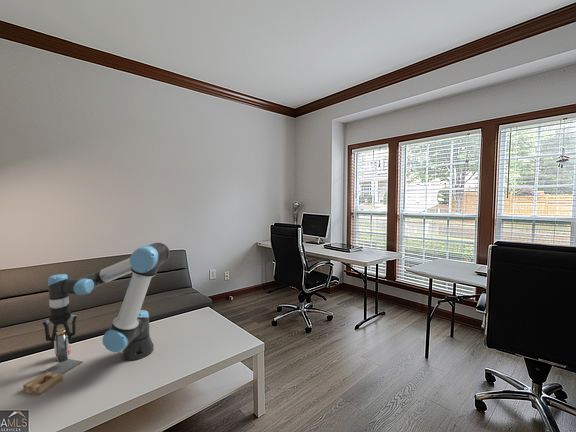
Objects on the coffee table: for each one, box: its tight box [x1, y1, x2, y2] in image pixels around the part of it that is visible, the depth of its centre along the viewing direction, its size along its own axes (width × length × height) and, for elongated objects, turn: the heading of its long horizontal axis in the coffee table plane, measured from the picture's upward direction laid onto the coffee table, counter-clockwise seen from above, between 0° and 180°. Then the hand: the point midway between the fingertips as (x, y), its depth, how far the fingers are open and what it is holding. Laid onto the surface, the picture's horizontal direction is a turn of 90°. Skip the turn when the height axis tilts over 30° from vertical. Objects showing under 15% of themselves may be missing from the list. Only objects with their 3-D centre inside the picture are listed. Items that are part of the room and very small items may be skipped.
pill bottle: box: [55, 343, 72, 361], centre depth 147 cm, size 6×6×11 cm
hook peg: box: [55, 327, 69, 363], centre depth 138 cm, size 5×5×16 cm
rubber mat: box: [43, 358, 83, 376], centre depth 139 cm, size 11×11×1 cm
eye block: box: [22, 372, 64, 396], centre depth 124 cm, size 10×10×3 cm
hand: (62, 351), depth 138 cm, fingers closed on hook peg, 4 cm apart
